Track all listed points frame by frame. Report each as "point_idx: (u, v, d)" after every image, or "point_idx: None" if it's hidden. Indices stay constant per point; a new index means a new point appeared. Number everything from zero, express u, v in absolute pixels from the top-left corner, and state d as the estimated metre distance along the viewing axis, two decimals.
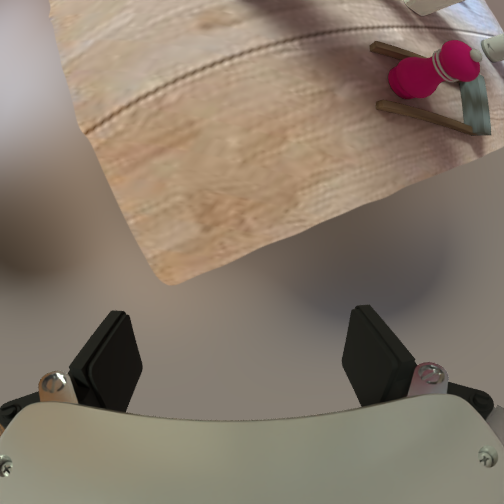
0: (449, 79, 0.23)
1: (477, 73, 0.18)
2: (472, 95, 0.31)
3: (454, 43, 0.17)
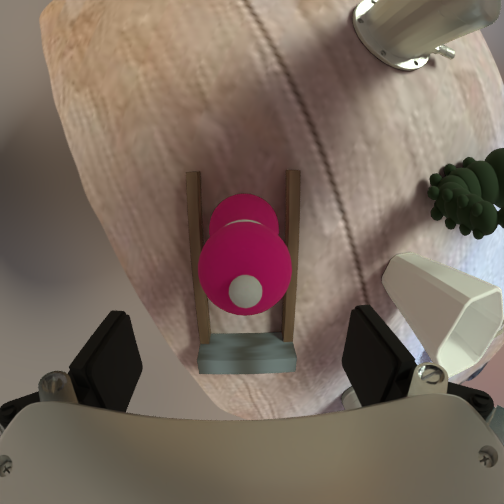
0: None
1: (214, 300, 0.16)
2: (258, 348, 0.34)
3: (268, 242, 0.16)
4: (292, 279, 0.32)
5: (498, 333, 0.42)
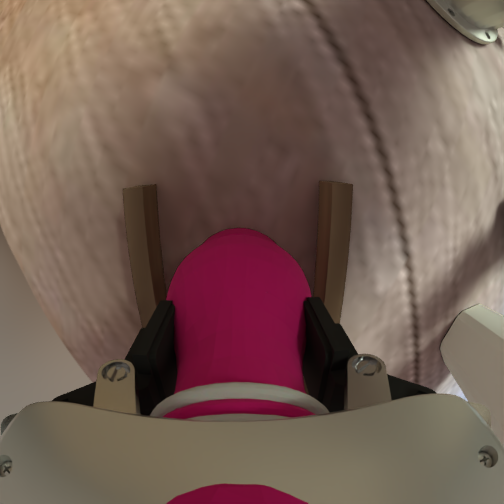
0: None
1: None
2: None
3: None
4: None
5: None
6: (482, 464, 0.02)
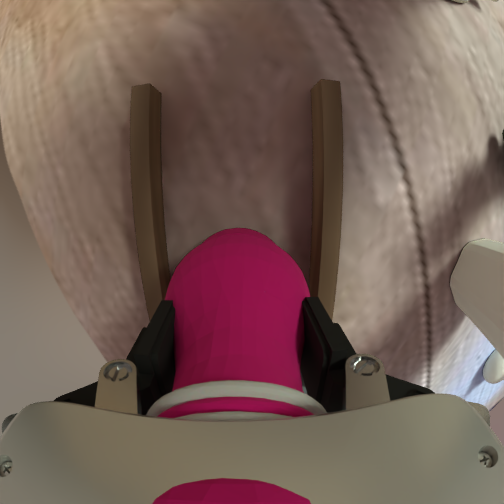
0: None
1: None
2: None
3: None
4: (329, 282, 0.17)
5: None
6: (482, 464, 0.02)
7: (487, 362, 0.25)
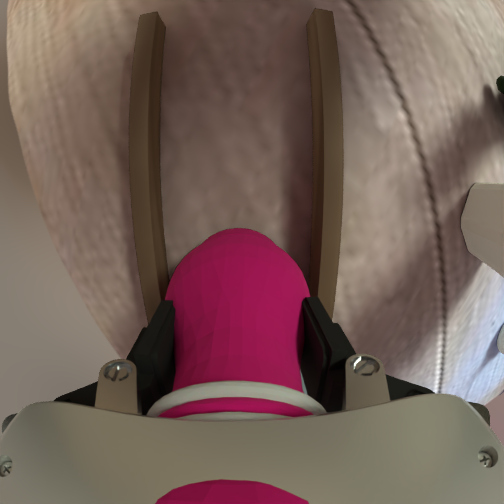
0: None
1: None
2: None
3: None
4: (334, 193, 0.15)
5: None
6: (482, 464, 0.02)
7: (501, 330, 0.23)
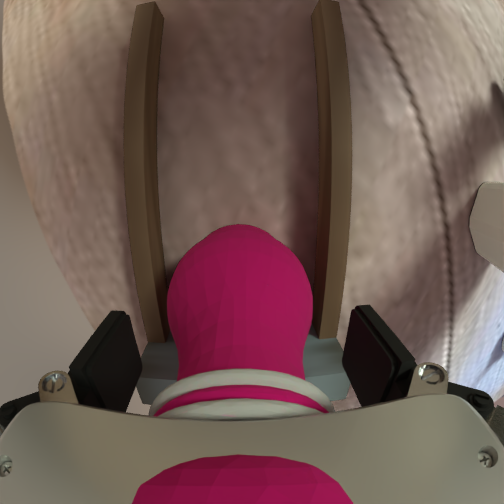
0: None
1: None
2: None
3: None
4: (342, 191, 0.14)
5: None
6: (482, 464, 0.02)
7: None
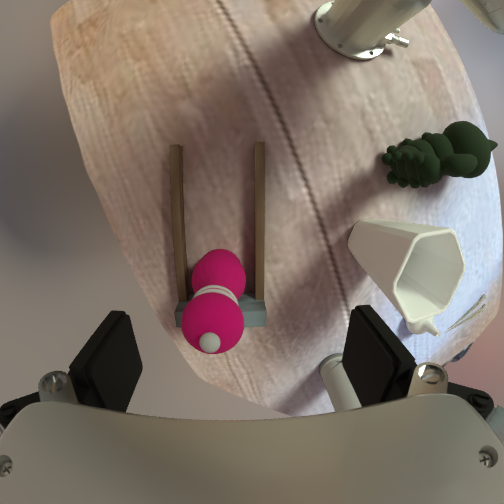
0: None
1: (192, 344, 0.24)
2: None
3: (225, 310, 0.23)
4: (260, 236, 0.37)
5: (473, 315, 0.47)
6: (482, 464, 0.02)
7: None
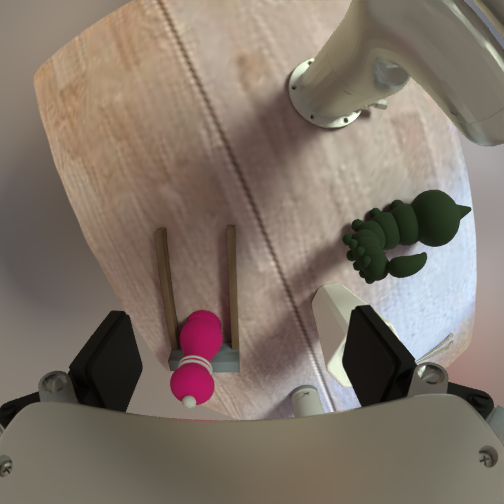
0: None
1: (178, 399, 0.31)
2: None
3: (199, 381, 0.31)
4: (233, 305, 0.44)
5: (439, 351, 0.54)
6: (482, 464, 0.02)
7: None
